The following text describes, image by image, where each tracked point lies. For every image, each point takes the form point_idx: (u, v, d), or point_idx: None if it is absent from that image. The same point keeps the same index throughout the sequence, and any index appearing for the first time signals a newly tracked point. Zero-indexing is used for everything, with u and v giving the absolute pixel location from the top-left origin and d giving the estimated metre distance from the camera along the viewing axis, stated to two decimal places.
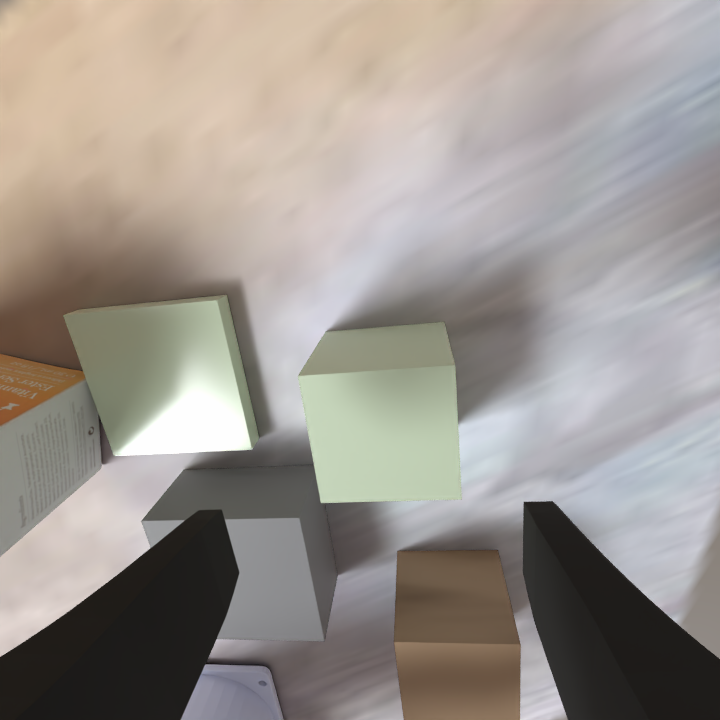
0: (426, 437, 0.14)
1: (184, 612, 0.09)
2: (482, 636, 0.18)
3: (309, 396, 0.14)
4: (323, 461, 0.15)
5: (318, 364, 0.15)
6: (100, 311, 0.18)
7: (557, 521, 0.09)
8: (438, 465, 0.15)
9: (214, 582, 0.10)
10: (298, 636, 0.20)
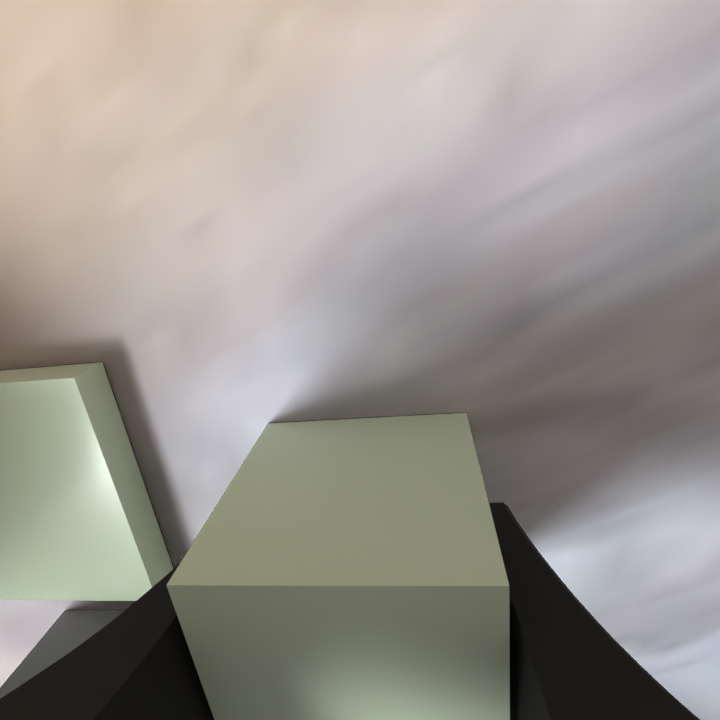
0: (440, 706, 0.07)
1: None
2: None
3: (195, 621, 0.07)
4: None
5: (220, 540, 0.07)
6: None
7: (502, 522, 0.09)
8: None
9: None
10: None
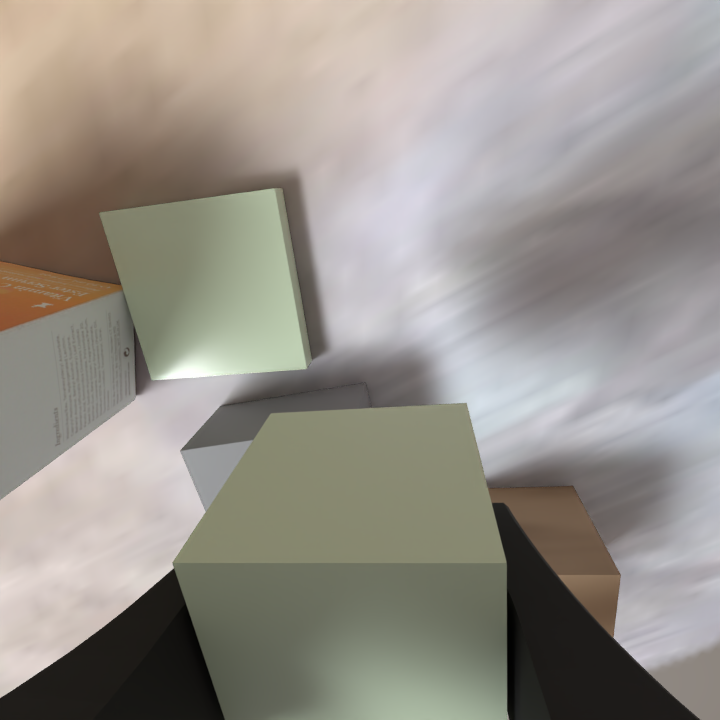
0: (439, 683, 0.07)
1: None
2: (574, 567, 0.16)
3: (200, 599, 0.07)
4: (238, 704, 0.08)
5: (225, 522, 0.08)
6: (141, 207, 0.16)
7: (503, 522, 0.09)
8: None
9: None
10: None
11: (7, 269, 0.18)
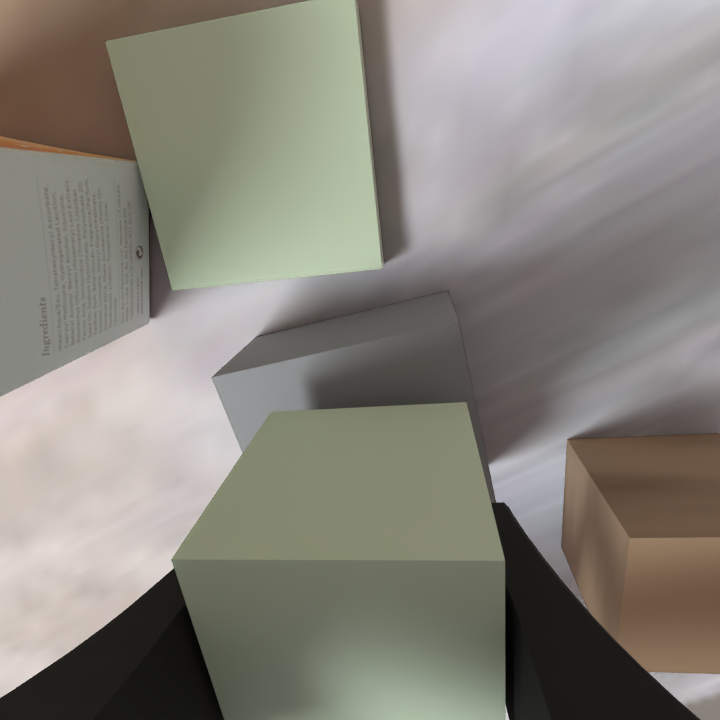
0: (437, 682, 0.07)
1: None
2: None
3: (198, 595, 0.07)
4: (236, 701, 0.08)
5: (224, 518, 0.08)
6: (163, 31, 0.12)
7: (503, 522, 0.09)
8: None
9: None
10: None
11: None
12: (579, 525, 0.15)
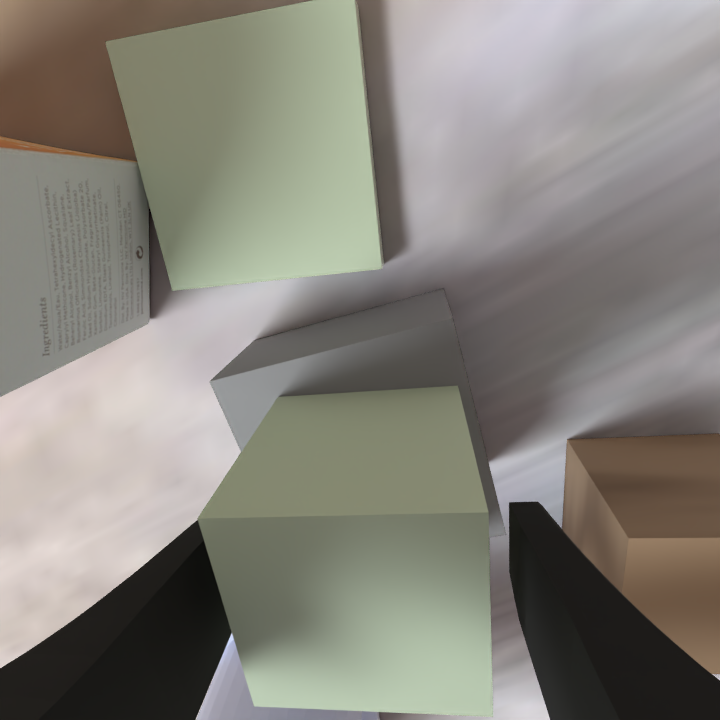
0: (432, 624, 0.08)
1: (198, 612, 0.09)
2: None
3: (221, 551, 0.08)
4: (253, 649, 0.09)
5: (241, 486, 0.08)
6: (163, 31, 0.12)
7: (540, 521, 0.09)
8: (452, 666, 0.08)
9: None
10: None
11: None
12: (579, 525, 0.15)
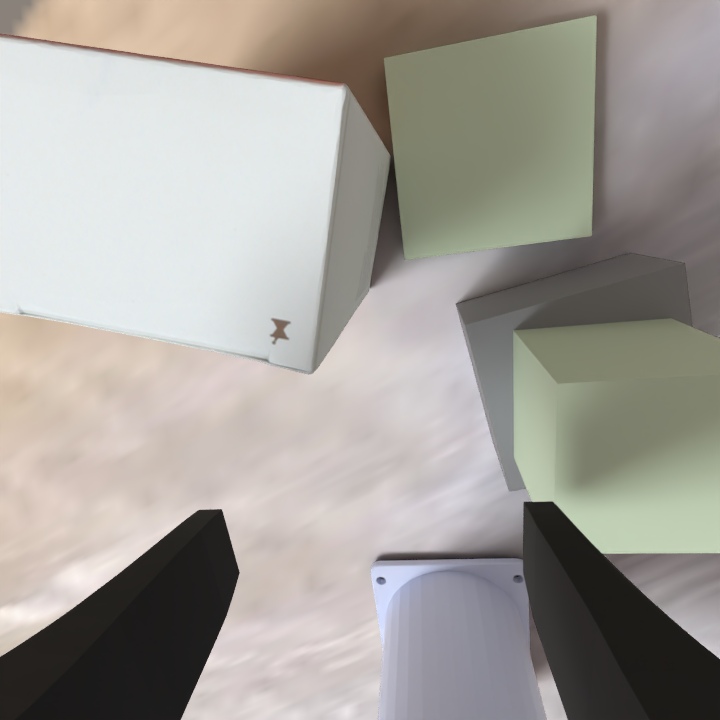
0: None
1: (184, 612, 0.09)
2: None
3: (568, 411, 0.11)
4: (569, 499, 0.11)
5: (566, 369, 0.11)
6: (432, 49, 0.15)
7: (557, 521, 0.09)
8: None
9: (214, 582, 0.10)
10: None
11: None
12: None
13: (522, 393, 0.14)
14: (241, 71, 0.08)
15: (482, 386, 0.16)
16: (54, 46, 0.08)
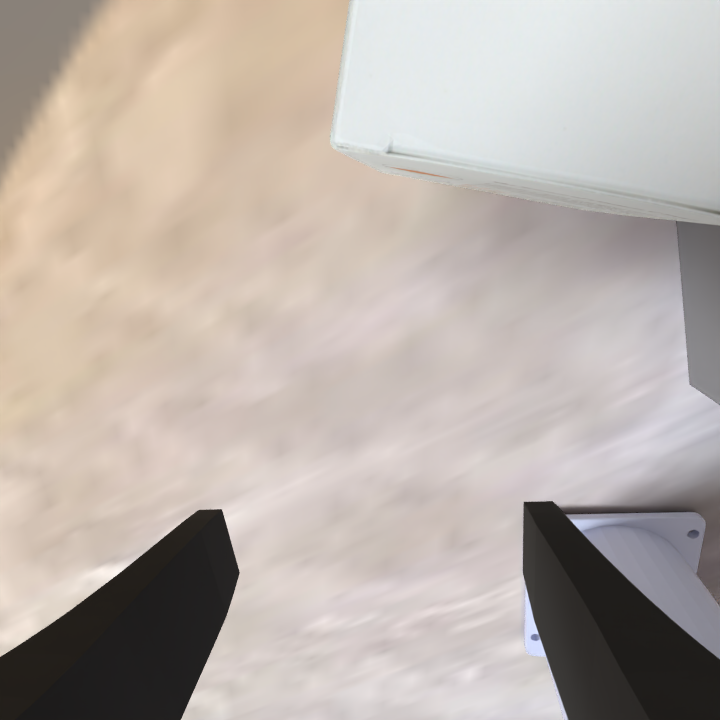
0: None
1: (184, 612, 0.09)
2: None
3: None
4: None
5: None
6: None
7: (557, 521, 0.09)
8: None
9: (214, 582, 0.10)
10: None
11: None
12: None
13: None
14: None
15: None
16: None
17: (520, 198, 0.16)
